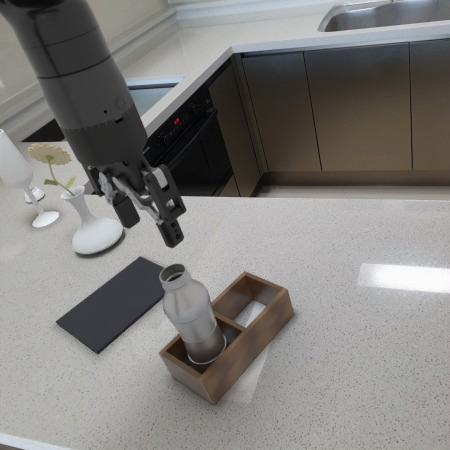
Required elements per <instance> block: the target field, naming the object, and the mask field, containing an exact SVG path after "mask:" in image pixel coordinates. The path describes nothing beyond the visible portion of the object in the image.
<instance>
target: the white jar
mask: <svg viewBox="0 0 450 450" xmlns="http://www.w3.org/2000/svg"><path fill="white" fill-rule="evenodd" d="M29 189H30V190H31V192H32V193H33V195H34V197H35V198H36V200H37V201H38V202H39V200H41V199H42V198H43V197H44V196H45V191H43V190H42V189H40V188H38V187H37V186H29ZM24 201H25V203H32V201H31V200H30V198H29V197H28V195H27V194H26V192H25V191H24Z"/></svg>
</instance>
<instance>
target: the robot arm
mask: <svg viewBox="0 0 450 450" xmlns="http://www.w3.org/2000/svg"><path fill="white" fill-rule="evenodd" d="M0 16H1V17H2V18H3V20H4V21H5V22H6V24H8V26H9V28H11V30H12V32H13V34H14V36H15V38H16V40H17V42H18V45H19V46H20V49H21V51H22V52H23V54H24V56H25V58H26V60H27V62H28V65H30V68H31V69H32V71H33V73H34V75H35V77H36V79H37V81H38V84H39V86H40V90H41V92H42V95H43V97H44V100H45V101H46V104H47V106H48V107H49V110H50V111H51V113H52V115H53V117H54V119H55V121H56V123H57V124H58V126H59V128H60V130H61V132H62V134H63V136H64V138H65V139H66V141H67V143H68V145H69V147H70V149H71V151H72V153H73V155H74V156H75V159H76V161H78V162H79V164H80V165H81V167H82V168H83V170H84V172H85V175H86V176H87V178H88V181H89V183H90V184H91V187H92V188H93V190H94V193H95V194H96V195H97V196H98V197H99V198H102V197H103V196H104V199H105V201H106V203H107V204H108V205H110V206H112V208H113V210H114V213H115V214H116V215H117V218H118V219H119V220H118V221H119V223H121V224H122V226H123V228H125V229H127V230H130V229H132V228H133V227H134V226H136V225H138V224H139V223H140V222H141V217H140V215H139V213H138V210H137V208H138V209H139V210H140V211H146V212H147V214H149V216H150V217H151V218H152V219H153V220H154V222H155V225H156V228H157V230H158V231H159V233H160V236H161V238H162V239H163V242H164V244H165V246H166V247H168V248H169V249H175V248H176V247H177V246H178V245H179V244H180V243H182V242H183V241H184V239H185V235H184V233H183V230H182V228H181V226H180V223H179V221H178V218H179V217H181V216H182V215H184V214H185V213H186V212H187V208H186V204H185V202H184V200H183V198H182V196H181V194H180V191H179V188H178V187H177V185H176V182H175V180H174V178H173V175H172V173H171V171H170V168H169V167H168V166H167V165H166V164H164V163H162V164H160V165H159V166H157V167H152V166H151V165H150V163H149V162H148V161H147V159H146V157H145V155H143V153H144V148H145V146H146V144H147V143H148V139H149V136H148V133H147V132H148V131H147V130H146V128H145V125H144V122H143V120H142V119H141V116H140V113H139V111H138V108H137V106H136V103H135V101H134V99H133V95H132V94H131V91H130V88H129V86H128V83H127V82H126V79H125V77H124V75H123V73H122V71H121V69H120V67H119V65H118V64H117V62H116V60H115V58H114V56H113V54H112V53H111V49H110V47H109V45H108V42H107V40H106V37H105V35H104V33H103V30H102V28H101V26H100V23H99V21H98V18H97V16H96V14H95V12H94V9H93V8H92V6H91V3H90V2H89V1H88V0H0ZM99 180H100V182H99ZM147 193H149V194H150V195H148V196H147V197H143V196H144V195H146V194H147ZM153 204H155V206H154V205H153Z"/></svg>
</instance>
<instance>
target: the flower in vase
mask: <svg viewBox="0 0 450 450" xmlns="http://www.w3.org/2000/svg"><path fill="white" fill-rule="evenodd" d="M26 152H27V154H28V155H29V157H30V158H32V159H34V160H36V161H38V162H41V163H42V164H48V167H49V172H50V175H51V177H52V179H49V178H45V179H44V181H43V185H50V186H56V187H57V186H60V187H61V188H62V189H64V191H63V192H61V193H60V199H62V200H64V201H66V202H68V203H69V204H70V205H71V206H72V207H73V208H74V210H76V212H77V214H78V215H79V218H80V221H81V223H80V226H79V227H78V229H77V230H76V231H75V233H74V235H73V237H72V239H71V248H72V250H73V251H74V252H75V253H77V254H81V255H92V254H97V253H100V252H102V251H105V250H106V249H108V248H110V247H112V246H113V245H114V244H115V243H117V242H118V241H119V240H120V238H121V237H122V235H123V230H124V227H123V225H122V223H121V222H120V221H119V220H116V219H113V218H110V217H97V216H95V215H93V214H92V212H91V211H90V209H89V207H88V205H87V203H86V199H85V190H86V187H85V186H84V185H82V184H81V185H74V186H72V185H73V184H74V182H75V180H76V176H77V175H74V176H73V177H71V178H70V179H69V180H68V181H67V183H66V185H63V184H62V183H61V182H59V181H58V180H57V179H56V177H55V175H54V172H53V168H52V165H55V166H61V165H62V166H65V165H67V164H69V163H70V162H72V160H73V159H71V155H70V153H68V151H67V150H63V147H62V146H56V145H54V144H50V145H49V144H48V143H46V142H42V144H39V143H31V146H29V147H27V149H26Z"/></svg>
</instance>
